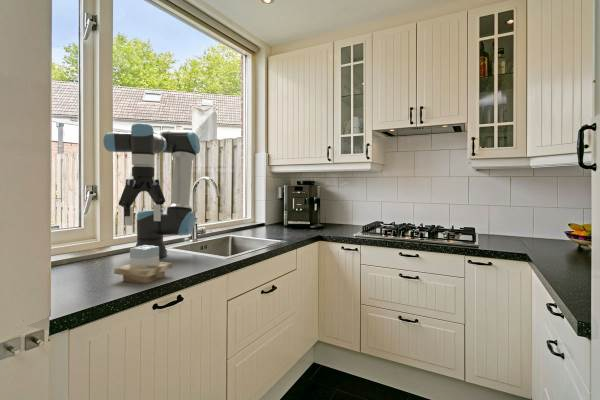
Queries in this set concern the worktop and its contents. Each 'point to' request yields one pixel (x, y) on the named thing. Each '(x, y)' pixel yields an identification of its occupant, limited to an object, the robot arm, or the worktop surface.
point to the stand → (143, 273)
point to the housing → (144, 256)
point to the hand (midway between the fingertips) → (144, 223)
